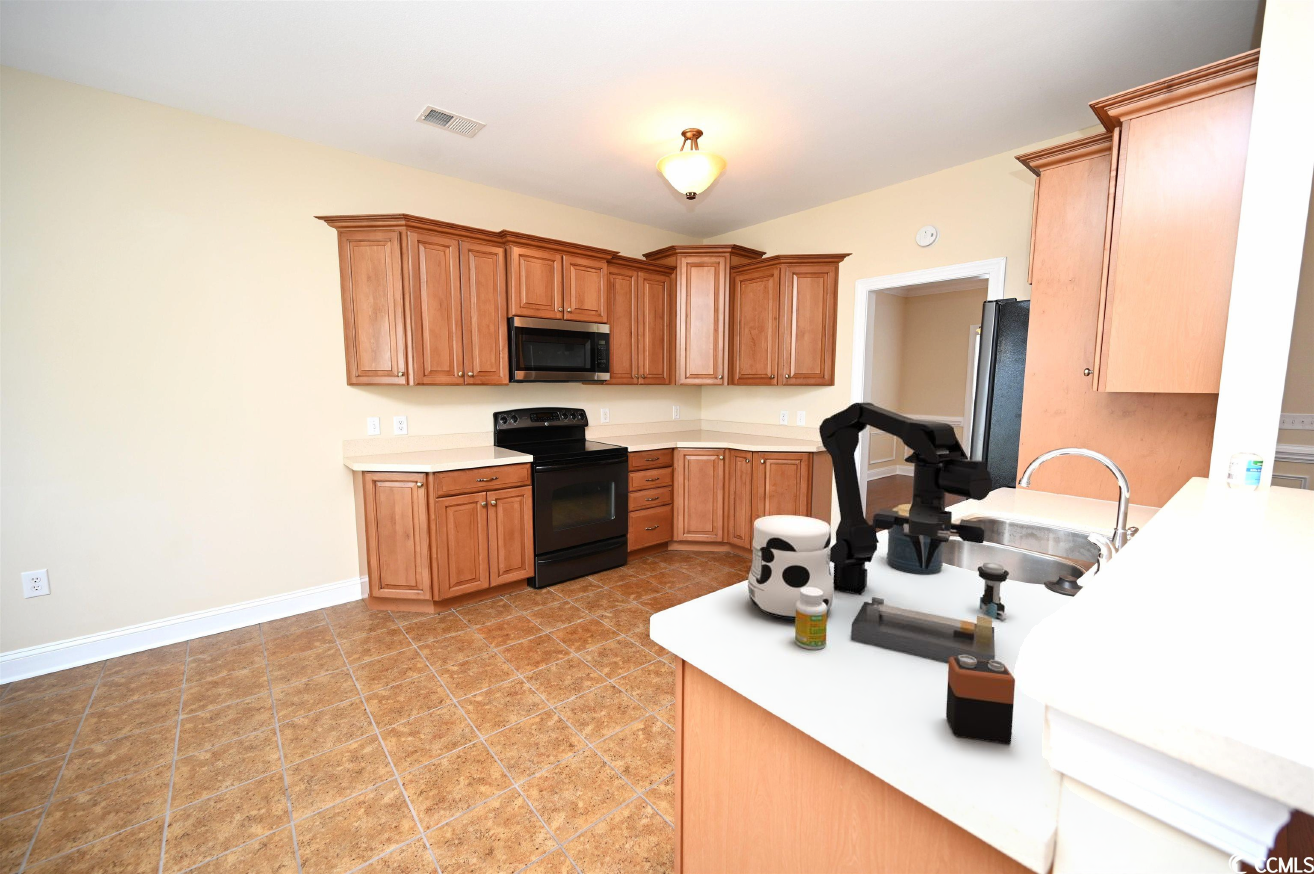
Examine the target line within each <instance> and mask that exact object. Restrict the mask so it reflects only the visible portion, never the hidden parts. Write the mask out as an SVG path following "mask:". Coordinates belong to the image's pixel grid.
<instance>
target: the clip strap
mask: <svg viewBox="0 0 1314 874" xmlns="http://www.w3.org/2000/svg"><path fill="white" fill-rule="evenodd" d="M873 606H875V607H880V612H879V614H881V615H886V616H890V617H895V618H900V619H905V620H910V621H914V622H919V623H924V624H929V625H933V626H938V627H943V628H948V629H953V630H957V631H962V632H967V633H972V634H974V626H975V622H972V621H968V620H963V619H959V618H958V619H957V618H954V617H953V618H952V617H947V616H944V615H943V616H942V615H938V614H933V613H928V612H922V611H917V610H912V609H907V608H903V607H897V606H892V605H888V604H884V605H883V604H879V603H878V602H875V603H874V604H873Z"/></svg>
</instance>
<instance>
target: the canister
mask: <svg viewBox="0 0 1314 874" xmlns="http://www.w3.org/2000/svg"><path fill="white" fill-rule="evenodd" d="M911 505H912V500H911V501H910V503H905V504H904V503H903V504H899V505H897V506H896V507H894V508H892V509H891V510H894V511H898V512H899V516H903V517H909V509H910V507H911ZM903 527H904V526H898V525H894V527H892V528H891V529H890V530H887V535H888V536H887V551H886V559H887V564H888V565H889V566H890V567H891V568H893V569H896V570H898V571H902V572H904V573H905V572H906V573H912V574H918V575H919V574H920V575H931V574H937V573H940V572H941V571H942V568H943V566H944V560H943V550H944V542H942V543H941V544H940V546H939V547H938V549H937V550H936V552H935V554H934V556H933V558H932V560H931V563H930V565H929V567H928V569H925V565H926V558H927V554H928V549H929V544H930V537H928V536H923V546H924V565H923V569H922V568H920V565H919V562H918V558H917V555H916V552H915V549H914V546H913V544H912V542H911V540H910V539H909V538H908V537H906V536H903V532H904V528H903Z"/></svg>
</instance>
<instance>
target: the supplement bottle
mask: <svg viewBox="0 0 1314 874" xmlns="http://www.w3.org/2000/svg"><path fill="white" fill-rule="evenodd" d="M800 598H801V599H800V600H799V601H798V602H797V603H796V619H795V623H794V625H795V627H794V628H795V631H794V633H795V634H794V641H795V644H796V645H798V646H799V647H801V648H803V649H807V650H813V651H814V650H815V651H817V650H821V649H823V648H825V647H826V646H827V645H826V644H827V632H828V631H827V625H828V624H827V622H828V619H827V618H828V611H827V606H826V604H825V603H824V602H822V601H823V591H822V590H820V589H818V588H813V587H804V588H801V589H800Z"/></svg>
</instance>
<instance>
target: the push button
mask: <svg viewBox="0 0 1314 874" xmlns="http://www.w3.org/2000/svg"><path fill="white" fill-rule="evenodd" d="M1004 568H1005V567H1004V566H1003V565H1002V564H999V563H995V562H985V563H982V566H978V567H977V571H978V577H979V578H981V579H982V580H984V587H983V589H984V590H983V594H982V596H980V597H979V607H978V608H979V610H981V612H982V613H983V614H986V615H988V616H989V617H991V619H1000V620H1006V619H1007V618H1005V617H1004V616H1007V614H1006V613H1005V610H1006V609H1005V608H1006V607H1005V604H1004V603H1002V602H1001V600H1002V598H1001V595H1000V594H1001V584H1002V583H1003V582H1006V581H1007V580H1008V576H1009V575H1010V573H1009V572H1010V571H1008V570H1006V569H1004Z"/></svg>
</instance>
